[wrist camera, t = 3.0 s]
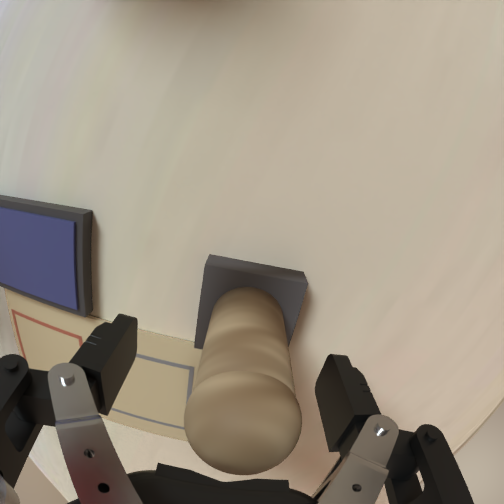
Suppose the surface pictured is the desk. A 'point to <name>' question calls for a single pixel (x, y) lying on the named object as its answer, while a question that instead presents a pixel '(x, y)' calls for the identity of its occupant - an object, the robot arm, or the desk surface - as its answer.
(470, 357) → the desk surface
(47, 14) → the desk surface
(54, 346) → the form card
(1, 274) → the ink pad
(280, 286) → the stamp
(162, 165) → the desk surface
